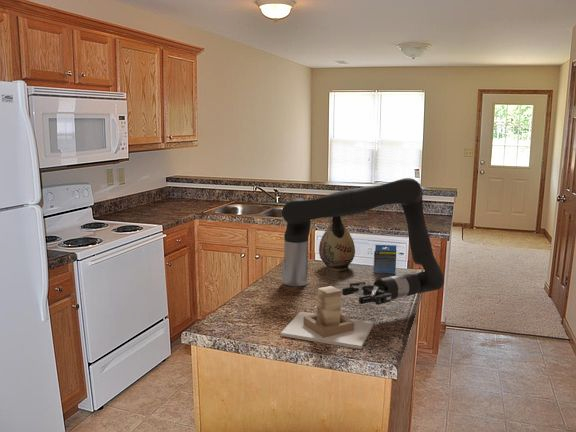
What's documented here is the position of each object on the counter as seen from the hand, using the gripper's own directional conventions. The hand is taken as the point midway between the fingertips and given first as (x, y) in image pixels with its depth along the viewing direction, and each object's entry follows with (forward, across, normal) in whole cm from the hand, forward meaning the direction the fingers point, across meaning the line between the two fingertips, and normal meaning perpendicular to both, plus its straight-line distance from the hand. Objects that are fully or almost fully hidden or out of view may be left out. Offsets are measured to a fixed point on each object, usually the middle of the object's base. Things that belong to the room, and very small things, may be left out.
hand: (351, 296), depth 155 cm
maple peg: (+8, 0, +8) cm, 12 cm away
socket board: (+8, 0, +10) cm, 13 cm away
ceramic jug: (-32, -52, +10) cm, 62 cm away
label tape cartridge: (-47, -39, +10) cm, 62 cm away
